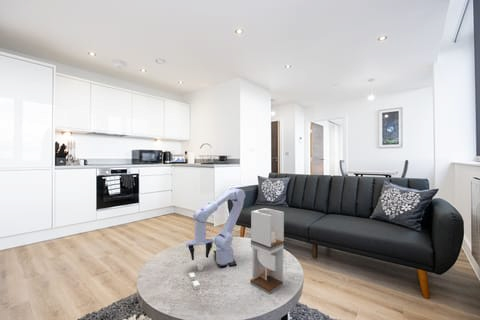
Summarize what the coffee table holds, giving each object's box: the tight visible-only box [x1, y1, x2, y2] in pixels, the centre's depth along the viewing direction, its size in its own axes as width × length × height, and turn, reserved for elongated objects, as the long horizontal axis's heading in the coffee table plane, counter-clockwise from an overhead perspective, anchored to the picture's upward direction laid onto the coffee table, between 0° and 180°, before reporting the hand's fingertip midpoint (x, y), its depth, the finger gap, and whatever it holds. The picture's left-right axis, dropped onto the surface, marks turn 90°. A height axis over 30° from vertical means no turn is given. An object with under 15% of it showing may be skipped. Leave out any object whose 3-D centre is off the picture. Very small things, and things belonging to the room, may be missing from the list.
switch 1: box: [188, 272, 196, 282], centre depth 107 cm, size 2×4×2 cm, turn 25°
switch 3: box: [196, 263, 204, 271], centre depth 117 cm, size 2×4×2 cm, turn 25°
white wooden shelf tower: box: [249, 207, 285, 295], centre depth 106 cm, size 11×11×35 cm
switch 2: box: [191, 279, 201, 291], centre depth 100 cm, size 2×4×2 cm, turn 25°
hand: (199, 258), depth 117 cm, fingers open, 7 cm apart
